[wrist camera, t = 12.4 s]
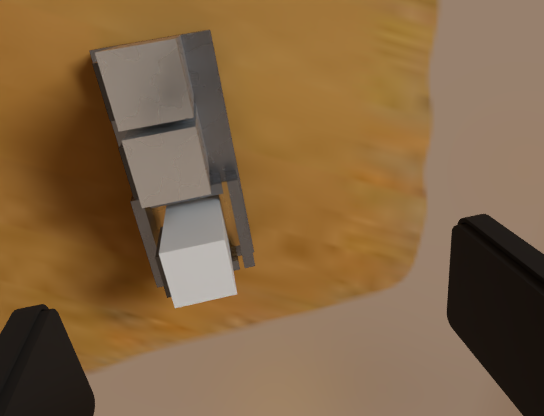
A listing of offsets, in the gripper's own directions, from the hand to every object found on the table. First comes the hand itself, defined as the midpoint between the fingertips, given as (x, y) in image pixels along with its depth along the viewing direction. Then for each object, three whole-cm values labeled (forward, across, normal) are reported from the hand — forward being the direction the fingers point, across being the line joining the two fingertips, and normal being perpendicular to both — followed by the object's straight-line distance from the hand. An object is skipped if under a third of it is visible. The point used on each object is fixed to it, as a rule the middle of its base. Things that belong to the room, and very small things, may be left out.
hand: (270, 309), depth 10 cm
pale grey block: (+23, +3, +9) cm, 25 cm away
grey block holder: (+25, +3, +4) cm, 26 cm away
